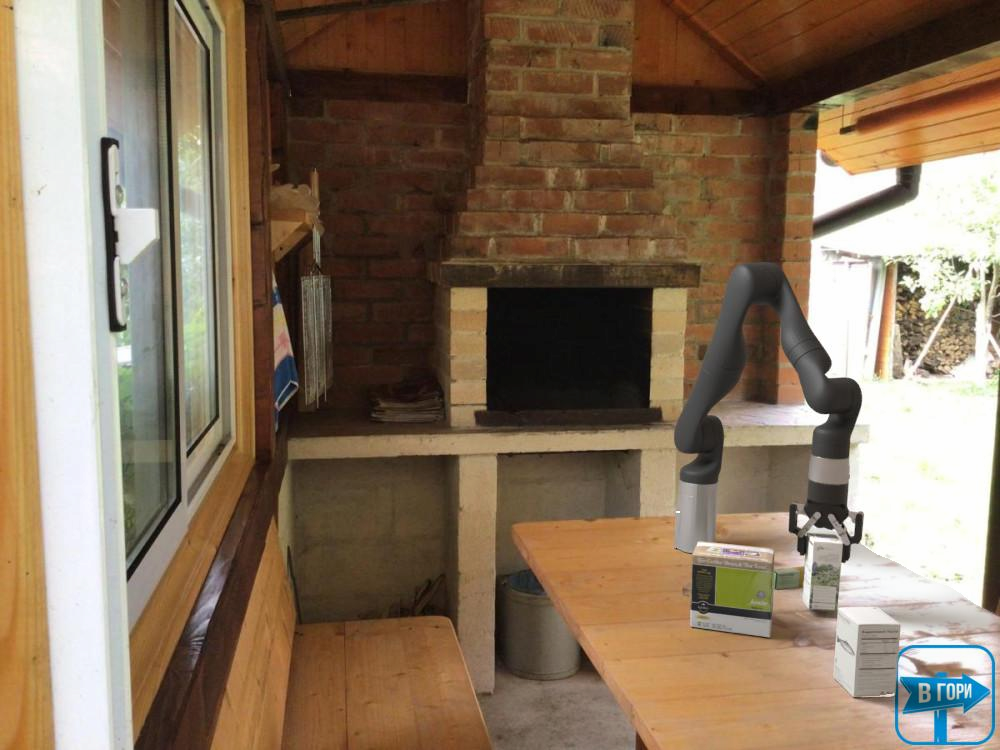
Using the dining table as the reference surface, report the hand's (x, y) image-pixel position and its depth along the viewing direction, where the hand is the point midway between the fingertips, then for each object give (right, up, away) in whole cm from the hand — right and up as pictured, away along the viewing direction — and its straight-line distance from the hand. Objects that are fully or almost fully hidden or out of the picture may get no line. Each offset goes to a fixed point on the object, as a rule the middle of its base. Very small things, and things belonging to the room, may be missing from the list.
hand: (823, 558), depth 176 cm
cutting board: (-17, -10, +11) cm, 23 cm away
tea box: (-20, -12, -5) cm, 24 cm away
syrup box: (0, -10, +1) cm, 10 cm away
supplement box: (-5, -15, -31) cm, 34 cm away
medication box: (0, -10, +17) cm, 19 cm away
